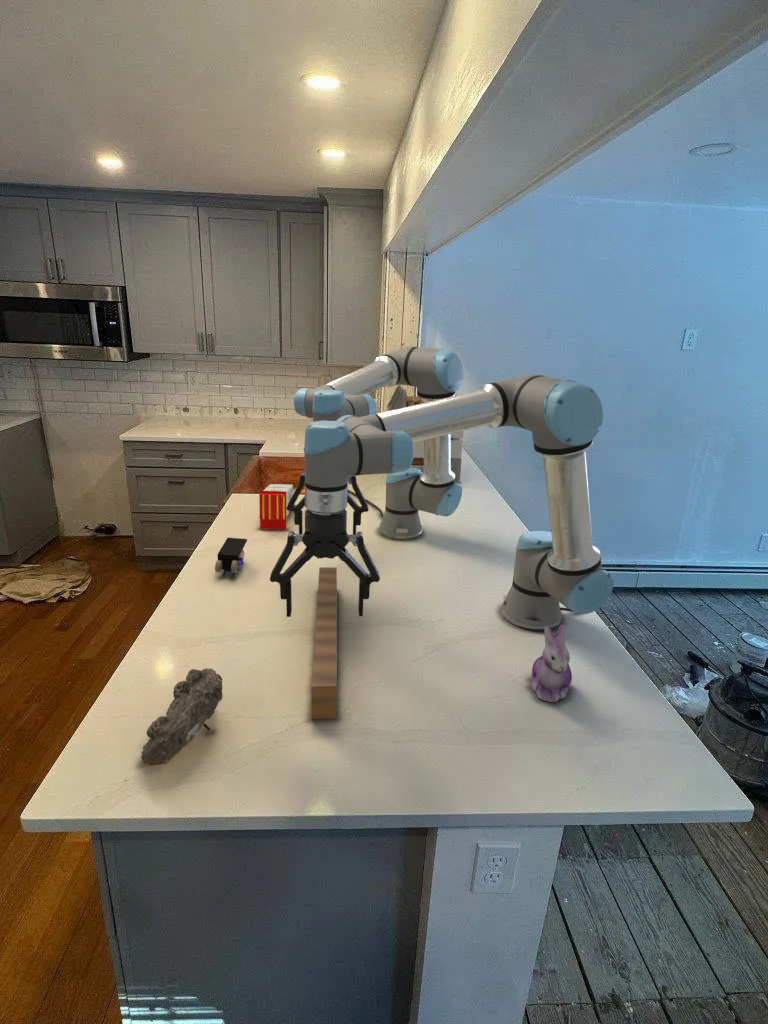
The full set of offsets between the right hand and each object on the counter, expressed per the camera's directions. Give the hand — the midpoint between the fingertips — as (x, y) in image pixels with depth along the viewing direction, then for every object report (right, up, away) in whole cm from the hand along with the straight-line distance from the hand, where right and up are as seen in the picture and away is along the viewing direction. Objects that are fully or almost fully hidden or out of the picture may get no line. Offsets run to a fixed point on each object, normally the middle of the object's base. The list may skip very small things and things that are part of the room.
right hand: (325, 613), depth 109 cm
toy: (-28, +18, +103) cm, 108 cm away
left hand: (-3, +13, +36) cm, 38 cm away
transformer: (+29, +38, +166) cm, 173 cm away
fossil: (-25, -21, -4) cm, 32 cm away
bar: (-2, -11, +25) cm, 27 cm away
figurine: (+47, -18, +12) cm, 52 cm away
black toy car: (-34, +2, +59) cm, 68 cm away
